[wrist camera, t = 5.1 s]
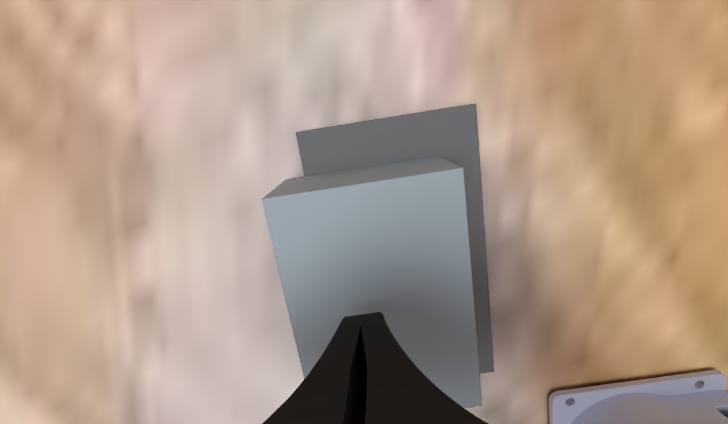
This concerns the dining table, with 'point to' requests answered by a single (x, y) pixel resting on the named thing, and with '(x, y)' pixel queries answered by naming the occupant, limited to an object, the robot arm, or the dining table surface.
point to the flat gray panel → (409, 142)
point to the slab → (382, 263)
